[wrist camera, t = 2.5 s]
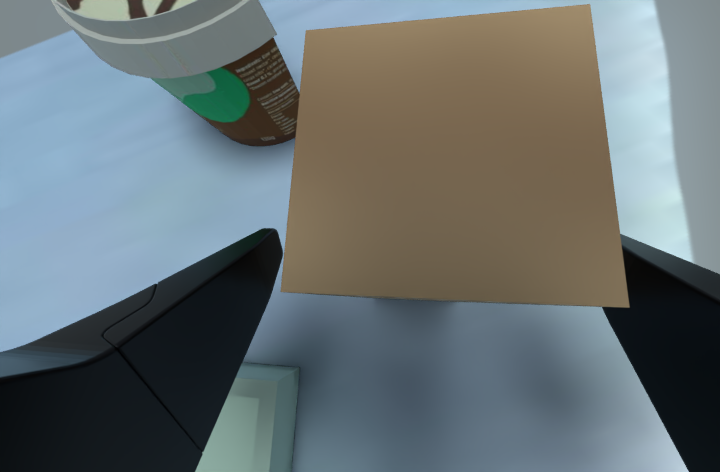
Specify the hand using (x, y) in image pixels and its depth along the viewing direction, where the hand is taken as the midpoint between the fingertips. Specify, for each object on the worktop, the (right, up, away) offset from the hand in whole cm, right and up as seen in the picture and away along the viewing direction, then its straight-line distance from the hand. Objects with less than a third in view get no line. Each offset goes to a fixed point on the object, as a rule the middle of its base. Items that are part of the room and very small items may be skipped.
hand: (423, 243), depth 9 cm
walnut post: (+1, -1, +8) cm, 8 cm away
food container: (-10, +9, +12) cm, 18 cm away
